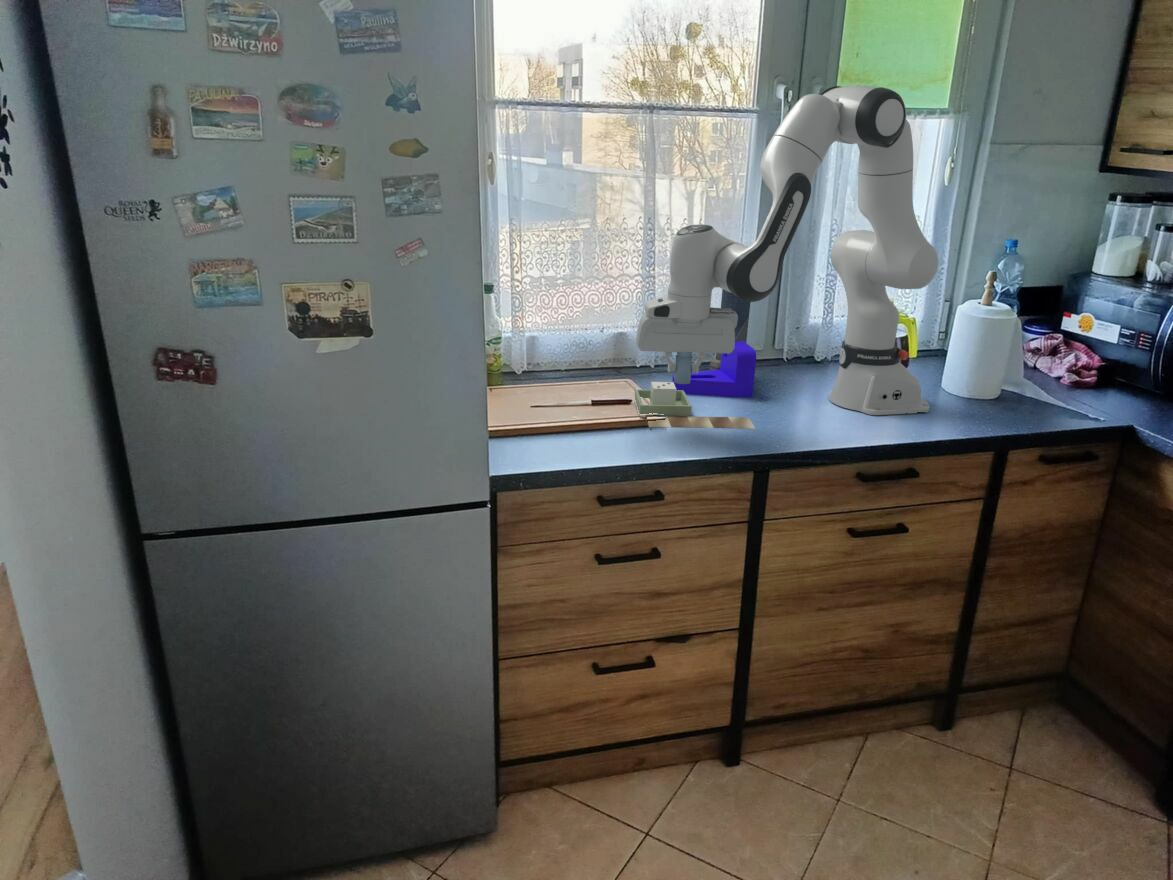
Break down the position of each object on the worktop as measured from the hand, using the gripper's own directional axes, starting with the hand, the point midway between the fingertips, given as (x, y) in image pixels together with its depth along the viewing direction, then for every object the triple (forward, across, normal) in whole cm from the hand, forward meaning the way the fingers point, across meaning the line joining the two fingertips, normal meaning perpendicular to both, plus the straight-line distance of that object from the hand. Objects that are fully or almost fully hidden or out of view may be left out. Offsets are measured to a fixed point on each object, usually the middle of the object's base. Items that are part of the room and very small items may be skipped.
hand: (682, 372), depth 183 cm
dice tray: (+12, +2, -10) cm, 15 cm away
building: (+12, -18, -33) cm, 39 cm away
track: (+12, -5, 0) cm, 13 cm away
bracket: (+12, -11, -22) cm, 27 cm away
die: (+11, +2, -10) cm, 15 cm away
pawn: (+2, 0, 0) cm, 2 cm away
